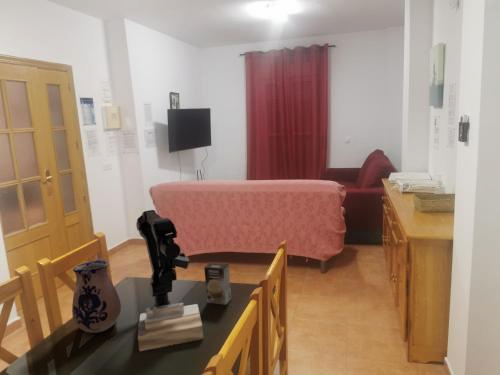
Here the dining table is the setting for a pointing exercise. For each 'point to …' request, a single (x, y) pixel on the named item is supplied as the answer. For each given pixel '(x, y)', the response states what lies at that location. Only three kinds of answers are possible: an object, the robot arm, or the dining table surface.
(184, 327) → the stepped wooden block
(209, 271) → the coffee box
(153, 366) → the dining table surface
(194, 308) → the jamb
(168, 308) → the bar
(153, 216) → the robot arm
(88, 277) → the ceramic pitcher
